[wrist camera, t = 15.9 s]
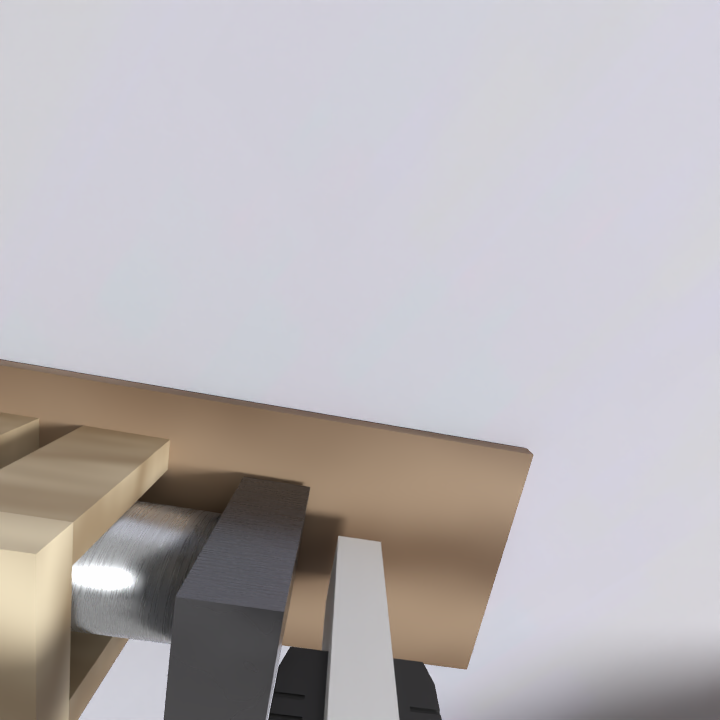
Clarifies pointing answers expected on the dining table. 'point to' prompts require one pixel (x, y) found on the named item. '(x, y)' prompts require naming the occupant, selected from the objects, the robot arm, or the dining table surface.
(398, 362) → the dining table surface
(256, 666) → the shaft
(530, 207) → the dining table surface
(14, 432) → the jig
